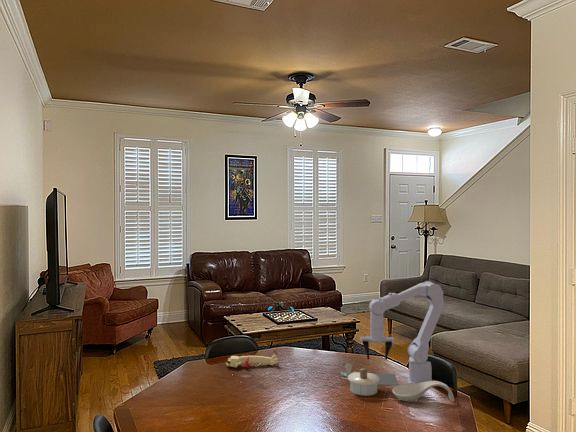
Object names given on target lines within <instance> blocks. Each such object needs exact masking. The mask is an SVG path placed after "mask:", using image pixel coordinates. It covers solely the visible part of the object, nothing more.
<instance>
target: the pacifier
mask: <svg viewBox="0 0 576 432" xmlns="http://www.w3.org/2000/svg"><path fill="white" fill-rule="evenodd" d="M344 369H345V372H344V371H339V373H340V374H341V378H342V379H344V380H348V375H350V374H352V373H357V371H353V372H352V369H353V366H352V364H351V363H349V362H348V363H345V366H344Z"/></svg>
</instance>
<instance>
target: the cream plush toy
mask: <svg viewBox="0 0 576 432" xmlns="http://www.w3.org/2000/svg"><path fill="white" fill-rule="evenodd" d="M272 353H273V355H272V356H271V357H270V356H264V355H249V353H247V354H246V355H241V356H239V355H231V356H230V357H228V358H227V360H226V361H227V362H225V365H226V366H227V367H232V368H238V367H239V366H240V365H241V364H244V366H245V367H246V368H247V369H249V364H261V365H268V366H274V365H275V366H276V367H279V360H278V358H276V357H277V356H278V355H279V353H278V351H277V350H276V349H272Z"/></svg>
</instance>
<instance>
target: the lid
mask: <svg viewBox="0 0 576 432" xmlns="http://www.w3.org/2000/svg"><path fill="white" fill-rule="evenodd" d="M356 372H357V371H356ZM351 373H352V372H351ZM371 373H372V372H368V368H365V367H361V368H360V369H359V372H357V373H352V374H350V375H348V377H347V378H348V379H347V380H348V381H349V383H350V382H352V383H355V384H361V385H371V384H376V383H378V382H379V380H380V378H379V377H378V376H377V375H375V374H371Z"/></svg>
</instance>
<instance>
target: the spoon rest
mask: <svg viewBox="0 0 576 432" xmlns="http://www.w3.org/2000/svg"><path fill="white" fill-rule="evenodd" d="M433 387H441V388H443V389H445V390H446V391H447V393H448V399H449V400H450V402H452V403H454V402H455V397H454V393H453V392H452V390H451V388H450V387H449V386H448V384H446V383H444V382H442V381H439V380H432V381H427V382H422V383H416V384H410V383H408V384H407V383H406V384H404V383H403V384H398V386H397V385H394V387H393V388H392V389H391V392H392V394H393V395H394V396H395V397H396V398H397V399H398V400H401V401H403V402H407V403H412V402H417V400H419V399H420V398H421V397H422V396H423V395H424V394H425V393H426V392H427V391H428V390H430V389H431V388H433Z"/></svg>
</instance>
